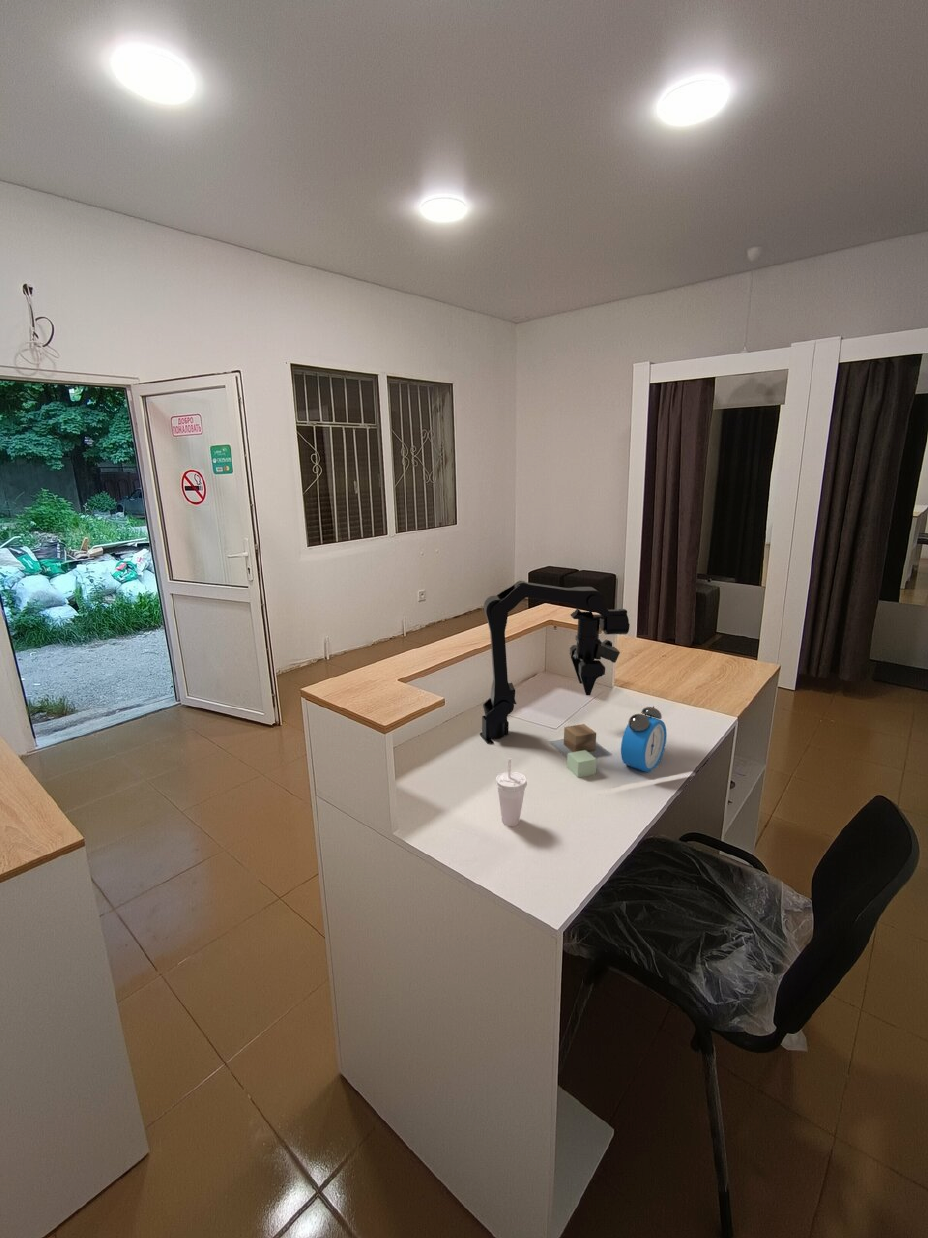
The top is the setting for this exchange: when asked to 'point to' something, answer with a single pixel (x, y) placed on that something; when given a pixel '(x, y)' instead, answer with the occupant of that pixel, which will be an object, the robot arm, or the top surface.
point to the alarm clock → (644, 740)
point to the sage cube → (581, 763)
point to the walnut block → (579, 738)
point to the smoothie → (511, 795)
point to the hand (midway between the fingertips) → (584, 689)
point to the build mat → (564, 750)
